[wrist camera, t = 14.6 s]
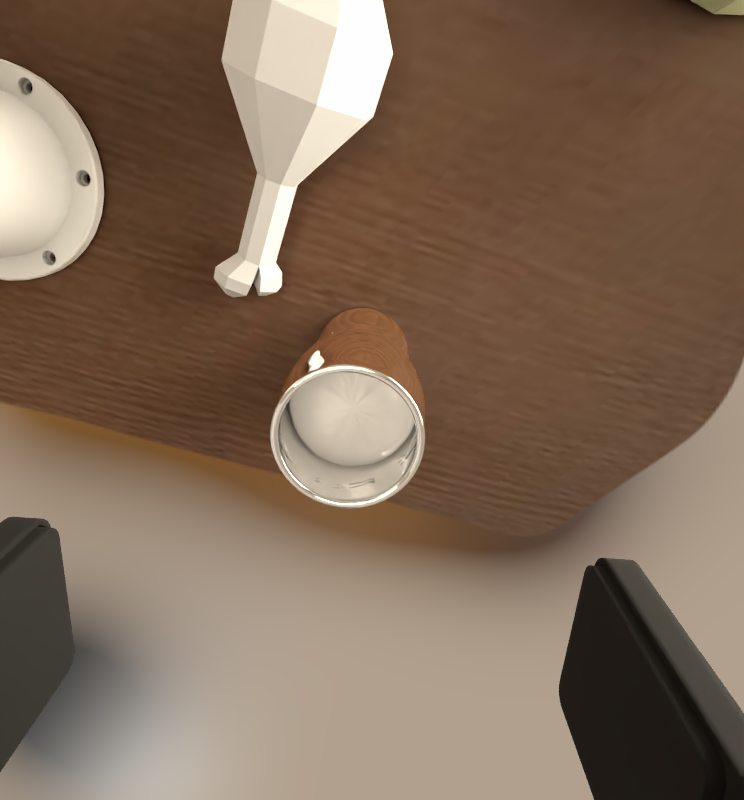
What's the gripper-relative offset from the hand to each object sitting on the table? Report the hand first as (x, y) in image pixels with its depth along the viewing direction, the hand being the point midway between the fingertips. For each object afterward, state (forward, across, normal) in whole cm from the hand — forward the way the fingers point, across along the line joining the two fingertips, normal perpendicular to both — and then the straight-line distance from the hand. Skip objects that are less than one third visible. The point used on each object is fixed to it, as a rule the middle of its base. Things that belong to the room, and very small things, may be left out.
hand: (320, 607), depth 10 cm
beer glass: (+29, 0, +3) cm, 29 cm away
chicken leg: (+29, +5, -9) cm, 31 cm away
